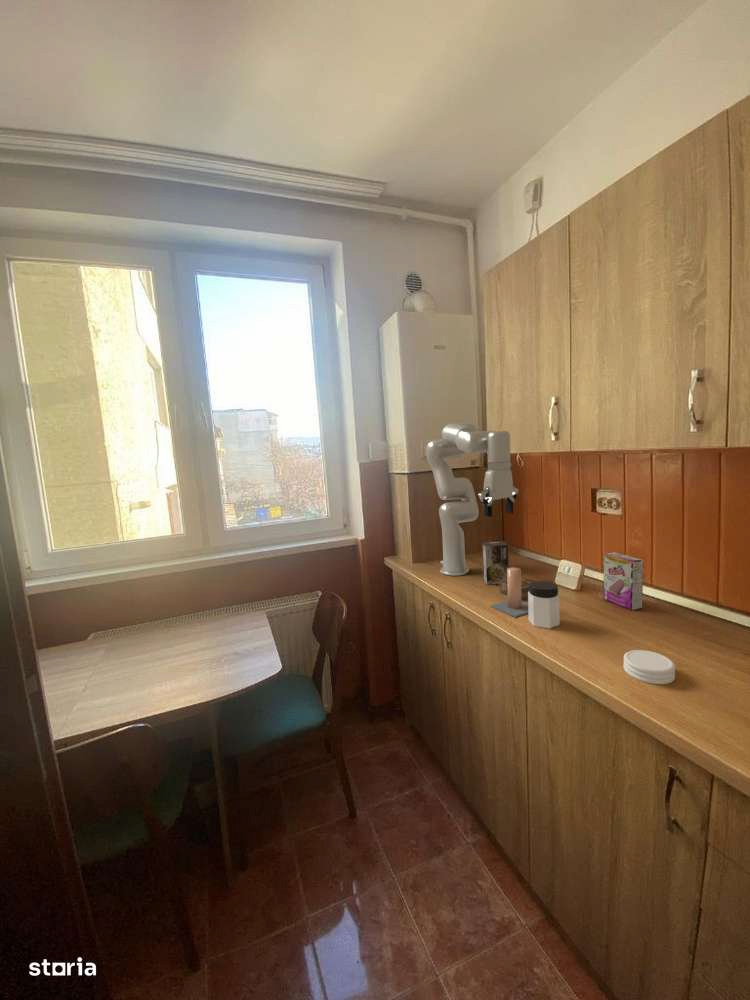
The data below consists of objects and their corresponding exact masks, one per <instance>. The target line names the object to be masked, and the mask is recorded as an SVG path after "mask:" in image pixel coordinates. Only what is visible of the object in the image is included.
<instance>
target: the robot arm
mask: <svg viewBox="0 0 750 1000" xmlns="http://www.w3.org/2000/svg"><path fill="white" fill-rule="evenodd" d="M441 437H442V438H439V439H435V440H431V441H430V442H428V444H427V445H426V448H425V455H426V456H425V457H426V461H427V463H428V465H429V467H430V469H431V472H432V474H433V478H434V483H435V486H436V490H437V491H436V492H437V495H438V497H439V499H440V500H443V501H449V500H451V501H449V502H444V503H443V504H441V505H440V506H439V509H438V515H439V520H440V524H441V525H440V526H441V535H442V537H441V538H442V556H443V557H442V560H440V563H439V564H441V565H442V567H441V568H440V573H441V574H442V575H445V576H453V577H455V576H456V577H457V576H464V575H467V574H469V572H470V569H469V567H467V566H466V553H465V551H466V550H465V547H466V545H465V533H464V530H463V528H462V527H461V526H460V525H459V524H460V523H466V522H468V523H469V522H474V521H476V520H477V519H478V517H479V514H480V513H479V511H480V510H479V506H478V502H477V498H476V494H475V493H476V492H475V490H474V486H473V484H472V482H471V480H470V479H468V478H466V477H454V473H453V469H452V468H451V465H450V464H449V463H447V462H446V461H445V460H444V459H450V458H451V459H452V458H453V459H454V458H460V457H463V456H464V455H466V453H468V454H469V453H470V454H474V453H487V470H486V471H485V475H484V480H483V490H482V491H480V492H479V493H478V497H479V499H480V502H481V503H482V505H483V506H484V516H485V517H488V518H492V517H493V506H492V503H493V502H494V501H498V500H503V499H505V500H506V501H505V513H507V514H514V503H515V501H516V498H518V494H519V488H517V487H515V486H514V482H513V474H512V469H511V466H512V462H511V434H510V432H509V431H507V430H497V431H496V430H484V431H477V428H476V425H474V424H473V423H472V422H471V423H470V422H457V423H456V422H455V423H449V424H446V425H445V426H444V427H443V428H442V431H441ZM452 500H456V501H452Z"/></svg>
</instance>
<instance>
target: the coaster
mask: <svg viewBox="0 0 750 1000" xmlns="http://www.w3.org/2000/svg"><path fill="white" fill-rule="evenodd" d="M623 670H624V671H625V672H626V674H627V675H629V677H632V678H634V679H636V680H638V681H641V682H643V683H646V684H647V683H648V684H651V685H668V684H671V683H673V682H674V680H675V678H676V675H675V674H676V671H675V670H676V665H675V663H674V662H673V661H672V660H671V659H670V658H669V657H667V656H665V655H663V654H661V653H658V652H655V651H650V650H643V649H634V650H633V649H632V650H629V651H627V652H625V654H624V655H623Z"/></svg>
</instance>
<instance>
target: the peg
mask: <svg viewBox="0 0 750 1000" xmlns="http://www.w3.org/2000/svg"><path fill="white" fill-rule="evenodd" d="M521 579H522V569H521V568H519V567H514V566H513V567H509V568H508V569H507V588H508V596H507V600H508V607H509V608H511V609H520V608H522V602H523V600H521Z"/></svg>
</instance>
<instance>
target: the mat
mask: <svg viewBox="0 0 750 1000" xmlns="http://www.w3.org/2000/svg"><path fill="white" fill-rule="evenodd" d="M490 608H493V609H494V610H497V611H499V612H502V613H504V614H506V615H508V616H510V617H512V618H518V617H522V616H525V615H527V614H528V602H525V601H522V608H520V609H511V608H509V607H508V599H507V600H504V601H501V602H498V603H494V604H490Z"/></svg>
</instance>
